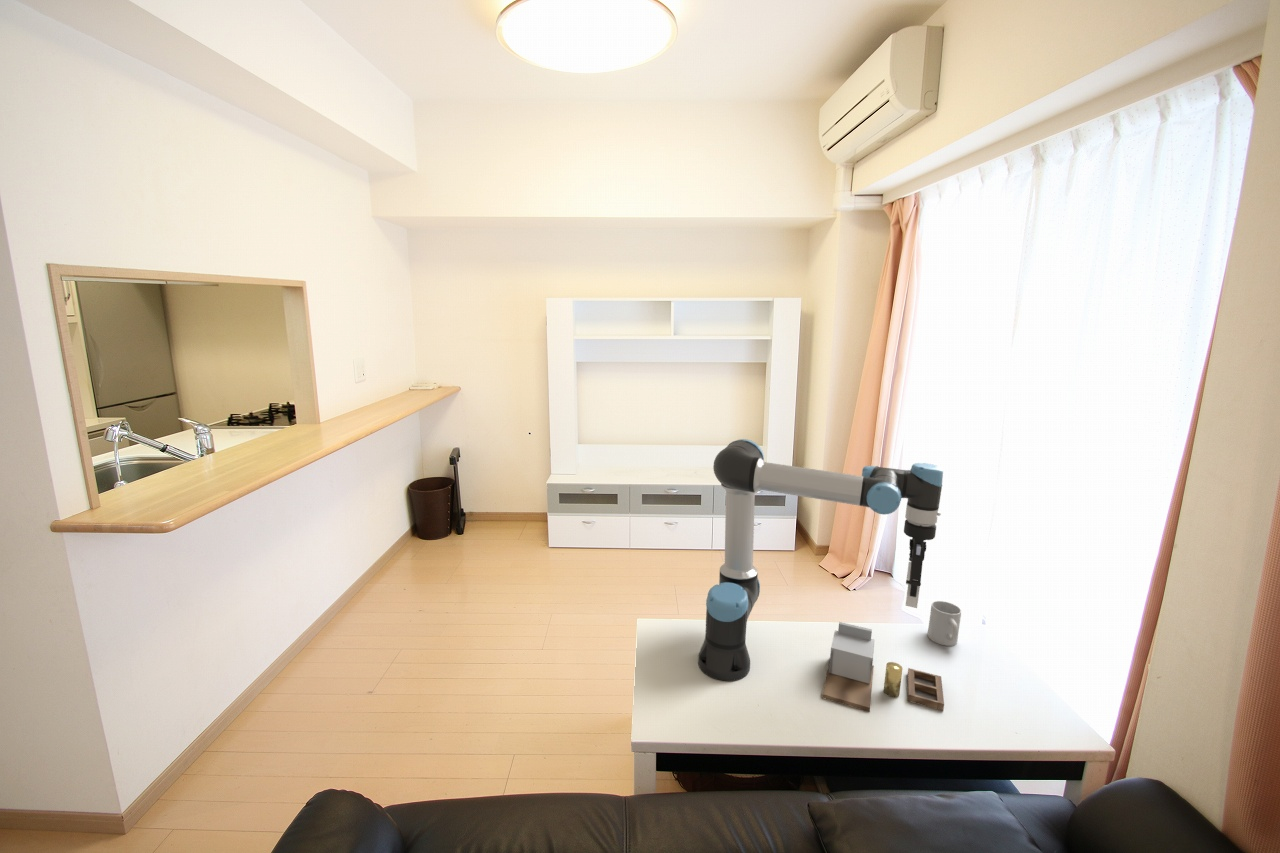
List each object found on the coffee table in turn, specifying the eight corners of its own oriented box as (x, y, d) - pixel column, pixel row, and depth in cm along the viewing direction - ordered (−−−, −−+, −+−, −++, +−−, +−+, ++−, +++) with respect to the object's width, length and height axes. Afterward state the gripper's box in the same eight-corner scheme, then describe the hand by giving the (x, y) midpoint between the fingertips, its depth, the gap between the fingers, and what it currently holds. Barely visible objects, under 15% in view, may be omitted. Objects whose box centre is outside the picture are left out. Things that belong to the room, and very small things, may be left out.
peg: (883, 694, 150) (886, 668, 149) (883, 686, 154) (886, 660, 152) (899, 699, 148) (902, 672, 147) (899, 690, 152) (902, 664, 150)
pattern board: (821, 697, 148) (823, 682, 147) (830, 658, 166) (831, 643, 165) (869, 711, 143) (871, 695, 142) (873, 669, 161) (874, 654, 160)
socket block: (907, 701, 148) (908, 694, 147) (907, 674, 159) (908, 668, 159) (943, 710, 144) (944, 704, 144) (940, 682, 156) (941, 676, 155)
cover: (828, 672, 157) (832, 638, 155) (832, 653, 166) (835, 621, 164) (870, 683, 152) (874, 648, 150) (872, 664, 161) (875, 630, 159)
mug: (922, 630, 182) (926, 600, 180) (949, 632, 181) (953, 601, 179) (939, 651, 170) (943, 619, 168) (967, 653, 170) (972, 621, 168)
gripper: (938, 540, 133) (927, 620, 137) (934, 510, 155) (925, 579, 159) (904, 534, 137) (894, 612, 141) (905, 505, 159) (897, 573, 163)
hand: (911, 595), depth 150 cm, fingers open, 13 cm apart
